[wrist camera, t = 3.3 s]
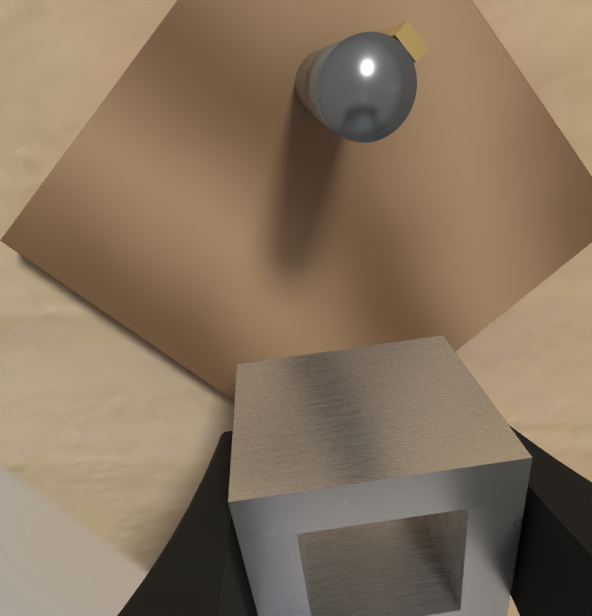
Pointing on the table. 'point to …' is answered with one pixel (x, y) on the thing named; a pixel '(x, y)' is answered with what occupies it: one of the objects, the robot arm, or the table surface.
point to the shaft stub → (362, 82)
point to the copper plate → (306, 191)
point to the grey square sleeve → (375, 484)
